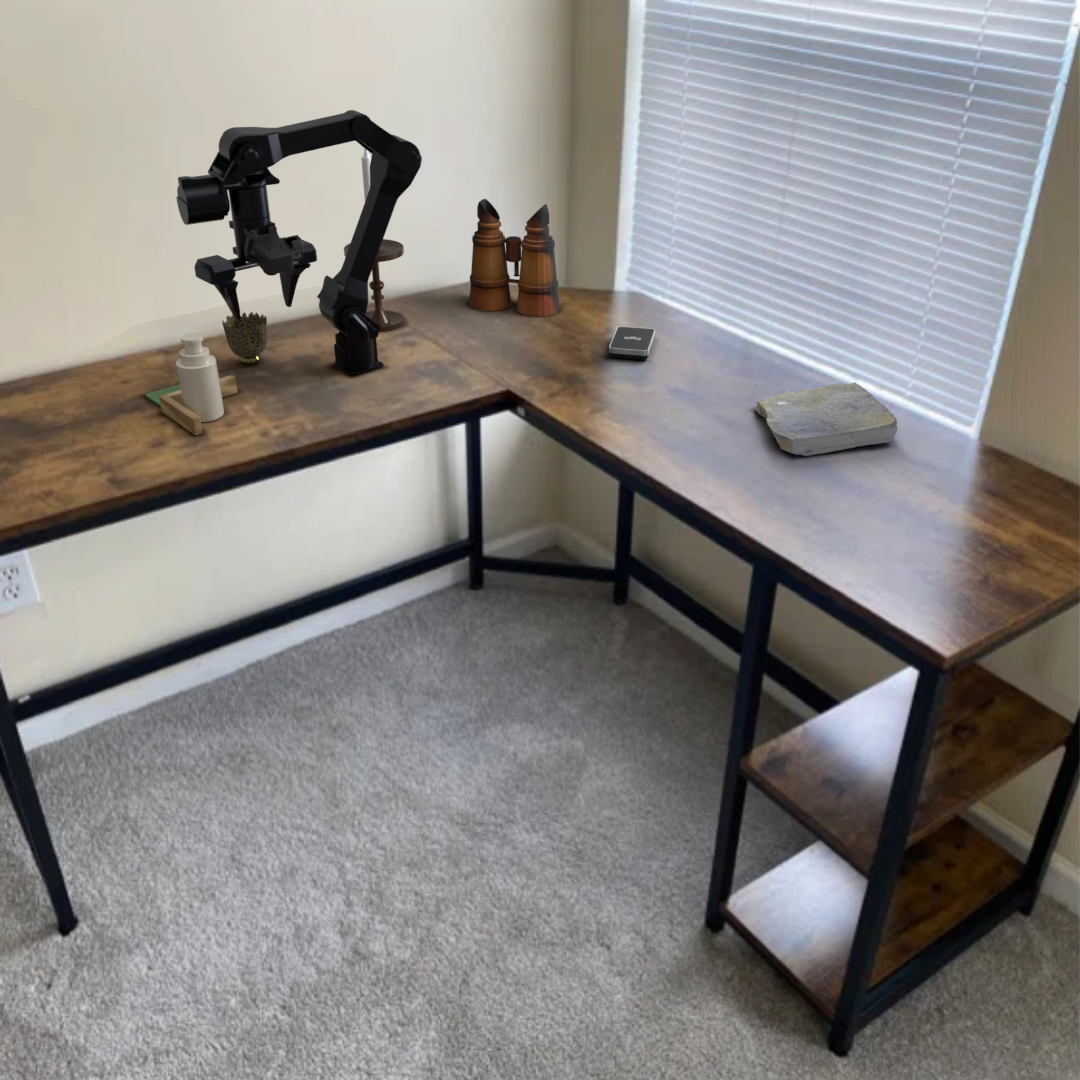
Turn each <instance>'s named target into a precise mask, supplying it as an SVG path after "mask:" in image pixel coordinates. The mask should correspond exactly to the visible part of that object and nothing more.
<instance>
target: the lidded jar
mask: <svg viewBox="0 0 1080 1080" xmlns="http://www.w3.org/2000/svg"><path fill="white" fill-rule="evenodd" d="M204 339H205V337H204V334H203V333H202V332H196V331H195V332H194V331H193V332H187V333H183V334H181V335H180V337H179V340H180V342H181V343H182V344H183V345H184V348H182V349H181V350H180V351H179V358H178V359H177V360H176V362H175V367H176V372H177V378H178V384H180V390H181V395H182V401H183V406H184V407H186V408H187V409H189V410H190V411H192V412H193V413H195V414H196V415H198V416H199V417H200V421H201V423H207V422H212V421H216V420H218V419H220V418H222V417H223V416H224V414H225V406H224V400H223V397H222V394H221V387H220V381H219V378H220V375H219V370H218V363H217V358H216V357H215V356H214V355H212V354H211V353H210V349H209V348H208V347H207V346H203V341H204Z"/></svg>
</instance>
